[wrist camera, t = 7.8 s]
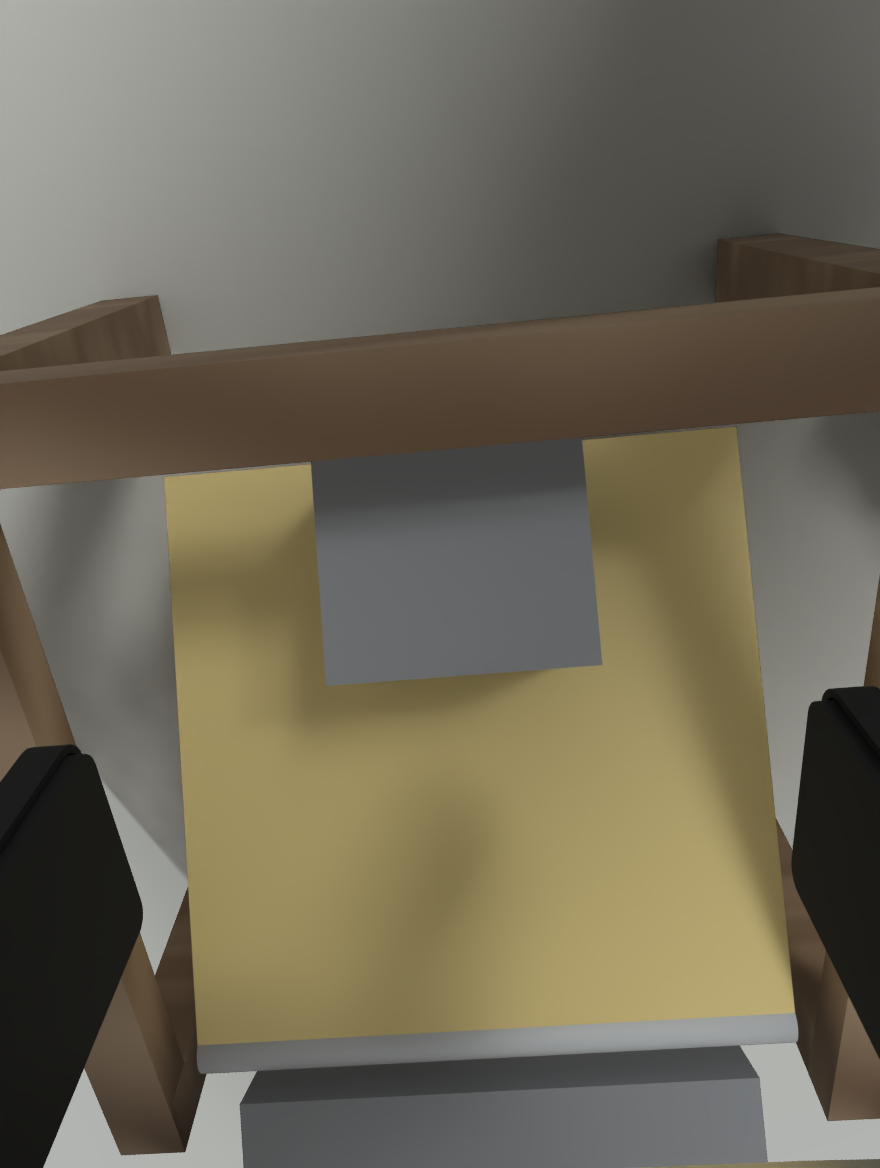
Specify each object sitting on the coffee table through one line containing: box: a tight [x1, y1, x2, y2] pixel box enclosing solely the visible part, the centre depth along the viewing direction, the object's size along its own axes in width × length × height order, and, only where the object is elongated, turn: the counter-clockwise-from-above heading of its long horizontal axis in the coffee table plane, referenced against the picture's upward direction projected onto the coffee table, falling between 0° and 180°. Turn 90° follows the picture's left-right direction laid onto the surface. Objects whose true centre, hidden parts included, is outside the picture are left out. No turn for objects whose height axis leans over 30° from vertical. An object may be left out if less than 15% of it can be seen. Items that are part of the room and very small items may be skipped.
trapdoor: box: [164, 427, 798, 1168], centre depth 21 cm, size 21×14×4 cm, turn 5°
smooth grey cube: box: [311, 438, 602, 686], centre depth 18 cm, size 5×5×5 cm
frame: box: [0, 234, 880, 1155], centre depth 22 cm, size 19×19×12 cm
